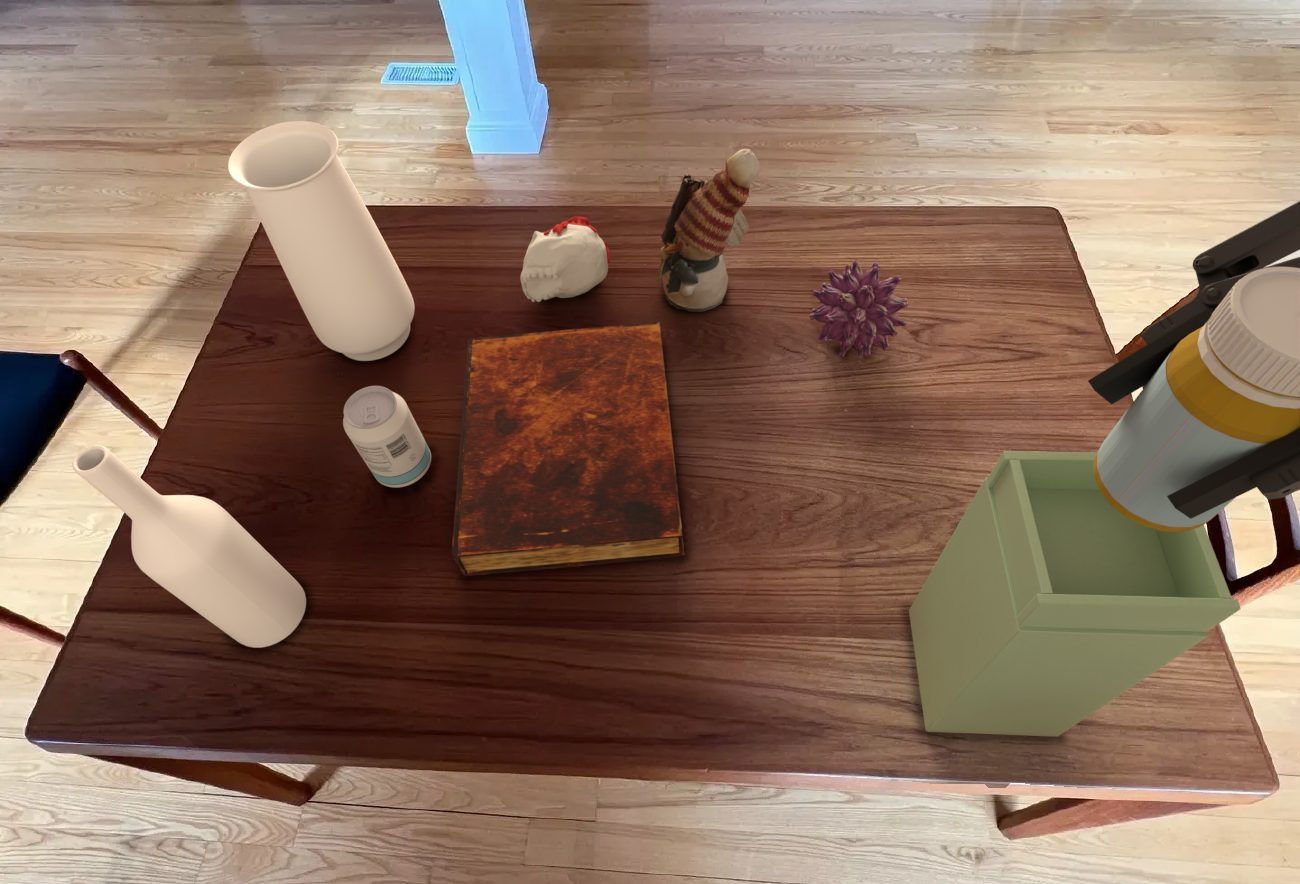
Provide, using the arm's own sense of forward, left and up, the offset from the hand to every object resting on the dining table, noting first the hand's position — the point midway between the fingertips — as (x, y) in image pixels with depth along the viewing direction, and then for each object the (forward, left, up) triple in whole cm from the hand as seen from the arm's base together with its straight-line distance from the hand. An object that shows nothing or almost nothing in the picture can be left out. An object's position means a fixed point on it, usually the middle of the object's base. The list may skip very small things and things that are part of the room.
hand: (1138, 447), depth 43 cm
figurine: (+52, -27, -41) cm, 71 cm away
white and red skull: (+67, -17, -41) cm, 80 cm away
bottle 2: (-2, -3, -6) cm, 7 cm away
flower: (+31, -31, -41) cm, 60 cm away
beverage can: (+61, +18, -41) cm, 75 cm away
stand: (-2, -3, -40) cm, 41 cm away
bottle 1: (+58, +39, -41) cm, 81 cm away
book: (+47, +4, -41) cm, 62 cm away
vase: (+81, +7, -41) cm, 91 cm away
